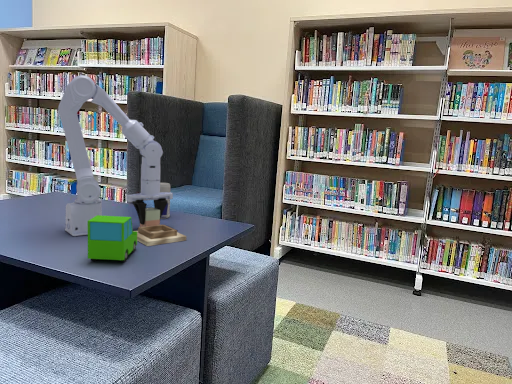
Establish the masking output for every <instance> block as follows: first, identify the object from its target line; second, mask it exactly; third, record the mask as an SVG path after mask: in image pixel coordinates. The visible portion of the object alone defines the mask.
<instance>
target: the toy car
mask: <svg viewBox="0 0 512 384" xmlns="http://www.w3.org/2000/svg"><path fill="white" fill-rule="evenodd" d="M134 231H135V230H133V221H132V216H121V215H120V216H119V215H118V216H116V215H102V216H100V215H97V216H95V217H94V218H92V219H90V220H88V234H87V260H90V261H94V262H95V261H97V260H108V261H109V260H111V261H120V262H121V263H125V262H127V260H128V256H129V255H130V254H131V253H135V252H136V247H137V245H138V241H137V232H134Z"/></svg>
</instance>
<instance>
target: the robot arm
mask: <svg viewBox="0 0 512 384" xmlns="http://www.w3.org/2000/svg"><path fill="white" fill-rule="evenodd" d="M90 99H92V100H91V103H92V104H95V105H97V106H101V107H102V108H103V109H104V110H105V111H106V112H107V113H108V114H109V115H110V116H111V117H112V118H113V119H114V120H115V121H116V122H117V124H119V125H120V126H121V134H122V135H124V137H125V138H126V139H127V140H128V141H129V143H131V144H132V146H133V147H134V148H135V149H137V150H139V154H140V155H141V164H140V167H141V168H140V192H139V193H132V194H131V193H130V194H126V195H125V196H126V199H125V201H126V202H127V203H132V205H133V207H134V209H135V211H136V213H137V216H138V217H137V218H138V221H139V225H140V224H142V225H144V224H145V210H146V208H147V205H148V204H147V203H146V202H145V201H153V205H154V206H153V208H156V209H159V210H160V220H162V219H161V216H162V213H163V211H164V209H165V207H166V205H167V203H168V201H167V200H166V199H170V200H173V196H174V194H173V193H174V192H171V191H170V192H160V183H161V158H162V156H163V154H164V151H163V149H162V146H161V144H160V143H159V142H158V141H156V140H154V139H155V136H154V135H151V134H150V133H149V132H148V131H147V129H145V128H144V124H143V122H140V121H138V119H130V118H129V117H128V115H127V114H126V113H125V112H124V111H123V110H122V109H121V107H120V106H119V105H118V104H117V103H116V102H115V100H114V99H113V98H112V97H111V96H110V95H109V94H108V92H107V91H105V89H103V88H102V87H101V86H100V85H98V84H97V83H96V84H95V81H94V80H93V79H92V78H91V77H90V76H87V75H84V74H83V75H82V74H81V75H77V76H75V77H74V78H72V80H71V81H69V83H67V85H66V87H65V90H64V92H63V95H62V97H61V100H60V102H59V104H58V107H57V108H58V109H57V110H58V114H59V117H60V122H61V124H62V129H63V132H64V137H65V140H66V143H67V147H68V151H69V155H70V159H71V163H72V165H73V169H74V173H75V177H76V182H77V183H76V186H75V187H76V198H75V199H74V201H73V202H70V203H69V202H68V203H66V205H65V229H64V230H65V232H67V233H68V234H70V235H71V236H72V237H76V236H78V237H79V236H85V235H86V236H88V220H90V219H92V218H94V217H95V216H97V215H100V216H103V215H102V213H103V212H102V211H103V209H102V199H101V198H100V196H101V193H102V189H101V187H100V185H99V184H100V183H98V181H97V180H96V179H95V177H94V174H93V171H92V170H93V169H92V166H91V161H90V159H89V154H88V151H87V147H86V144H85V140H84V135H83V132H82V128H81V127H82V126H81V123H80V119H79V116H78V112H79V111H80V109H81V108H82V106H83V105H84V103H86V102H88V101H89V100H90Z"/></svg>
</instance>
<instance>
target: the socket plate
mask: <svg viewBox="0 0 512 384" xmlns="http://www.w3.org/2000/svg"><path fill="white" fill-rule="evenodd" d="M133 231H134V232H137V242H139V243H141V244H142V245H144V246H146V247H150V246H151V247H152V246H158V245H163V244H164V245H166V244H171V243H178V242H184V241H187V235H185V234H182V233H180V232H178V230H177V229H175V228H172V227H170V226H167V225H166V224H160V225H155V226H146V227H140V226H138V228H137V230H133Z"/></svg>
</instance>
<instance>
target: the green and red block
mask: <svg viewBox="0 0 512 384" xmlns="http://www.w3.org/2000/svg"><path fill="white" fill-rule="evenodd" d="M155 225H161V219H160V210H159V209H156V208H154V207H146V210H145V224H144V225H142V224H140V223H139V227H146V226H155Z"/></svg>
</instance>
